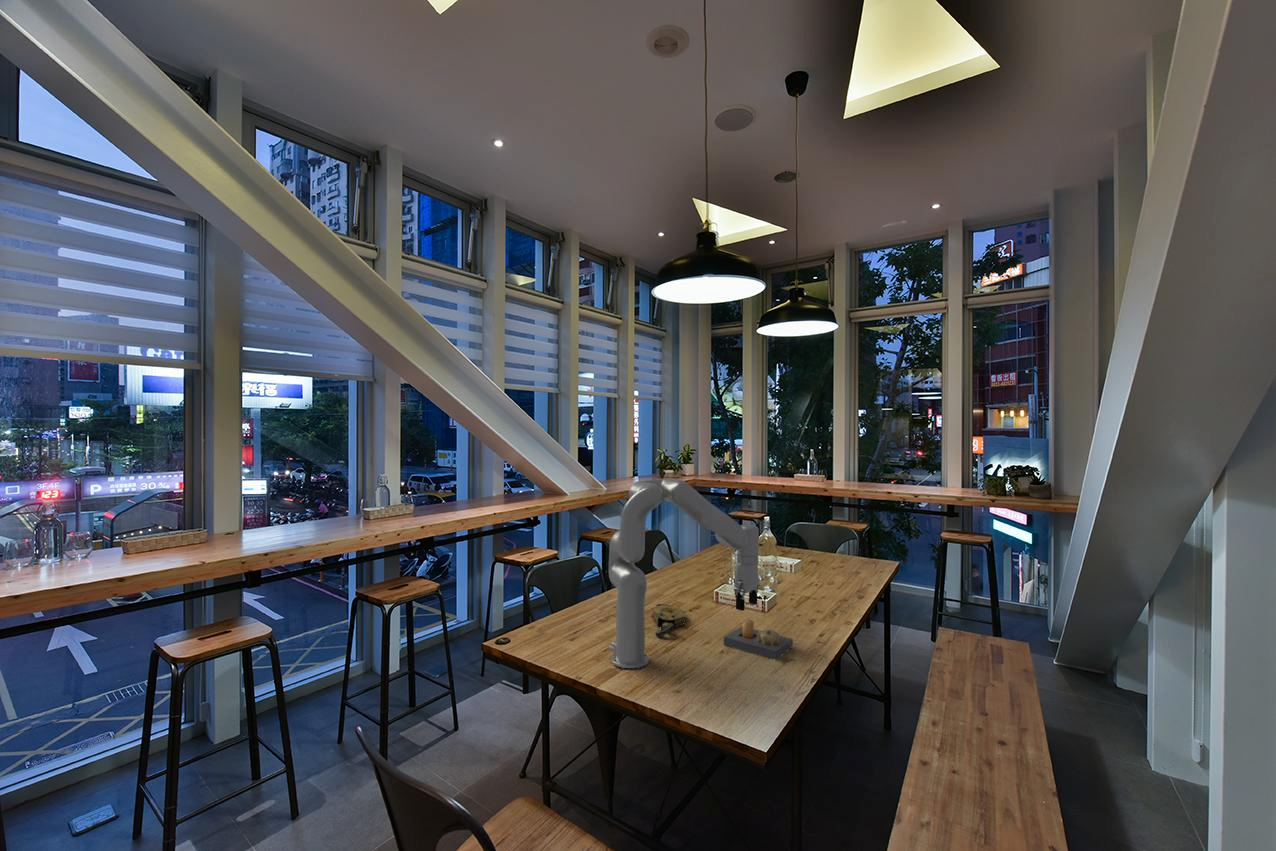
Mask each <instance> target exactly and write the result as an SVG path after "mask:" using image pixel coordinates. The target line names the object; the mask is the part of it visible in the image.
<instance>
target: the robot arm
mask: <svg viewBox="0 0 1276 851" xmlns="http://www.w3.org/2000/svg"><path fill="white" fill-rule="evenodd" d="M628 496H629V499H628V500H627V501H626V503H625V505H624V506H623V509H622V512H621V514H620V523H619V524H620V526H619V530H617V531H616V532H615V533H614V534H613V535H612V537H611V538H610V542H609V549H608V551H609V554H608V578H609V580H610V582H611V584H612V585H613V586H614V587H615V588H616V589H617V598H616V605H615V606H616V607H615V610H616V611H615V616H616V618H615V622H616V623H615V624H616V626H615V627H616V628H615V629H616V633H615V634H616V635H615V638H616V639H615V640H616V641H611V643H610V645H609V646H608V650H609V651H611V652H612V651H613V655H611V656H612V657H611V664H613V666H615V665H616V666H615V667H617V666H618V667H617V668H619V667H621V668H620V669H624V668H629V669H628V670H631V669H630V668H633V669H632V670H635V669H634V668H637V669H640V667H641V668H643V666H644V667H647V665H648V664H649V663H650V656H649V655H648V654H647V653H646V652H645V649H646V646H645V645H646V643H645V642H646V641H645V640H646V638H645V637H646V636H645V635H646V634H645V633H646V631H645V630H646V629H645V628H646V624H645V623H646V622H645V621H646V618H645V616H646V615H645V614H646V613H645V612H646V611H645V610H646V607H645V606H646V594H647V589H648V588H647V587H648V581H647V577H646V575H645V573H644V572H643V570H641V569H640V568H639V567H637V566H636V565H635V563H638V562H639V561H641V560H642V558H643V557H644V555H645V550H646V547H645V545H646V522H647V518H648V516H649V514H650V513H651V512H652V511H653V510H654V509H655V508H657V507H658V506H659V505H660V504H661V503H664V502H669V503H672V504H674V505H675V506H676V507H677V508H678V509H679V510H681V511H682V512H683V513H684V514H686V515H687V517H689V518H690V519H691V520H692V521H693V522H695V523H697V524H698V525H700V526H701V527H704V528H706V529H708V530H710V531H711V532H713V533H714V536H715V539H716V540H717V542H719V543H720V544H721V545H723V546H726V547H729V548H732V549H734V550H736V551H737V553H736V554H737V556H736V567H735V574H734V584H733V585H734V588H733V592H734V596H735V610H738V611H741V612H742V611H743V612H744V611H745V607H746V606H745V602H746V601H745V600H746V599H744V598H745V596H746V594H747V593H748V603H749V604H751V605H757V604H758V592H759V586H760V585H759V584H760V579H759V568H758V567H759V546H760V545H759V544H760V543H759V541H760V540H759V536H760V535H759V533H760V529H759V527H758V526H757V525H754V524H741V525H740V524H739V523H738V522H737V521H736V520H734V519H733V518H732V517H731V516H729V515H728V514H726V513H725V512H723V511H722V510H720V509H719V508H718V507H717V506H715V505H714V504H712V503H711V502H710V501H709V500H707V499H706V498H705V497H704V496H703V495H702V494H700V492H698V491H697V490H696V489H695V488H694V487H693V486H691V485H690V484H689V483H687V481H684V480H682V479H679V478H674V477H671V478H670V477H668V478H658V479H647V480H638V481H635V482H634V483H633V484H632V485H631V486H630V488H629V489H628Z"/></svg>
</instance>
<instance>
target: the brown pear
mask: <svg viewBox="0 0 1276 851" xmlns="http://www.w3.org/2000/svg"><path fill="white" fill-rule="evenodd" d="M754 623H755V622H754V620H752V619H743V620H742V623H741V624H742V626H741V627H742V637H744V638H748V639H753V638H754V629H755V628H754V626H755V625H754Z"/></svg>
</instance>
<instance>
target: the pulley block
mask: <svg viewBox="0 0 1276 851" xmlns="http://www.w3.org/2000/svg"><path fill="white" fill-rule="evenodd" d="M650 617H651V618H652V620H653V622H655V624H656V625H657V627H658V628H659V627H661V630H660V628H659V629H658V628H657V629H655V631H654V632H655V634H654V635H655V636H656V637H662V638H664V636H665V635H668V634H669V633H671V632H672V631H673V630H674V629H676V628H678V627H677V626H679V625H681V624H683V623H685V624H686V617H687V613H686V611H685V610H683V609H682V608H680V607H676V606H672V605H668V604H664V603H661V604H660V603H659V604H656V605H655V607H654V608H653V610H652V614H651V616H650ZM684 621H685V622H684ZM683 625H684V624H683ZM681 626H682V625H681ZM675 627H676V628H675ZM679 627H680V626H679ZM673 628H674V629H673Z"/></svg>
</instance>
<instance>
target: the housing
mask: <svg viewBox="0 0 1276 851" xmlns="http://www.w3.org/2000/svg"><path fill="white" fill-rule="evenodd" d="M793 641H794V640H793V638H790V637H786V636H783V635H780V633H779V632H776V631H775V630H773V629H772V630H770V629H763V630H758V629H755V628H754V638H753V639H748V638H744V637H742V626H740V627H739V628H737V629H735V630H733V631H732V632H730V633H728V634H726V635H725V636H723V646H724V645H727V646H726V647H728V646H731V647H734V648H733V649H735V648H737V649H736V650H738V649H740V651H742V650H743V651H742V652H745V651H746V652H745V653H749V652H750V653H749V654H752V653H753V655H756V654H757V655H756V656H759V655H761V656H760V657H763V656H764V657H763V658H766V657H768V658H767V659H770V658H772V659H771V660H773V659H775V660H774V661H776V659H777V658H778V659H780V658H781V657H782V656H783V655H785V654H786V653H787V652H788V651H787V650H789V649H790V648H791V647H792V646H794V645H793V644H794V642H793ZM731 647H730V648H731ZM791 649H792V648H791ZM791 649H790V650H791ZM790 650H789V651H790ZM786 651H787V652H786ZM785 652H786V653H785ZM784 653H785V654H784ZM782 654H783V655H782ZM781 655H782V656H781ZM780 656H781V657H780ZM778 659H777V660H778Z"/></svg>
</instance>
